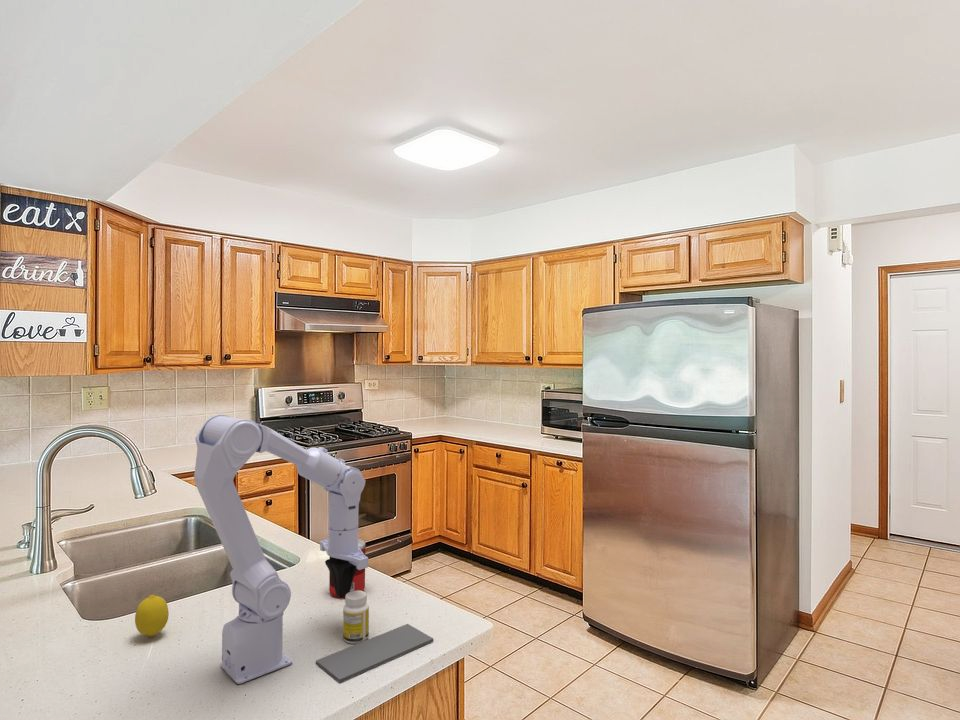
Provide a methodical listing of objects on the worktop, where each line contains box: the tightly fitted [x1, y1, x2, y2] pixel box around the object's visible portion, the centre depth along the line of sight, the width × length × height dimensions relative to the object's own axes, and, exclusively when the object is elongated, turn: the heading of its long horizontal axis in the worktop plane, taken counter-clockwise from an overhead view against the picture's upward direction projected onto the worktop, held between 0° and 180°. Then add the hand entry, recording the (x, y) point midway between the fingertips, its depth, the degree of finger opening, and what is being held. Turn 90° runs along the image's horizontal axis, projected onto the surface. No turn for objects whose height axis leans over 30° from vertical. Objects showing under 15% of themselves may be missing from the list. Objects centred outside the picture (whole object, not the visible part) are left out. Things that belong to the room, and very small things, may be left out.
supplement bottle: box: [342, 590, 370, 645], centre depth 110 cm, size 5×5×8 cm
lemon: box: [134, 594, 169, 638], centre depth 110 cm, size 6×6×8 cm
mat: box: [315, 623, 434, 684], centre depth 105 cm, size 20×8×1 cm, turn 134°
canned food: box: [328, 538, 366, 599], centre depth 131 cm, size 8×8×11 cm
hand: (342, 595), depth 114 cm, fingers closed
